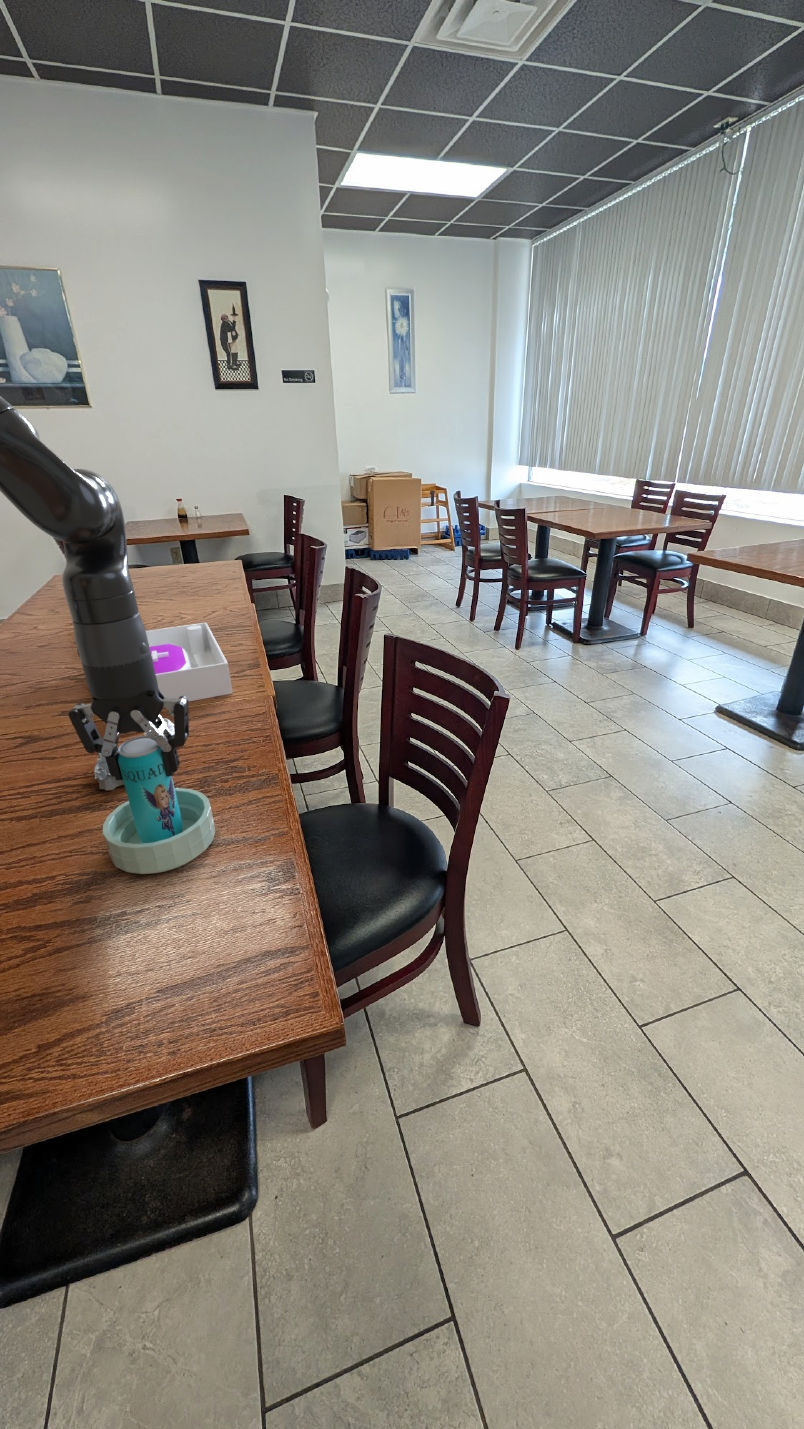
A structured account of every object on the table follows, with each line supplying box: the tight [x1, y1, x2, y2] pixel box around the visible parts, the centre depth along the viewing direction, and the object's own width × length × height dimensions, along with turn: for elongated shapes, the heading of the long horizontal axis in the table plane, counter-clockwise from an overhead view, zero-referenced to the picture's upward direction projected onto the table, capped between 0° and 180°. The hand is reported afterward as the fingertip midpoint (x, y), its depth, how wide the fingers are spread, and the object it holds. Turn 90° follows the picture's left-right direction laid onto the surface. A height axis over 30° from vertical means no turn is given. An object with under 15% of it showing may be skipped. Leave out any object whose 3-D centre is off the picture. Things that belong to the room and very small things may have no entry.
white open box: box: [146, 622, 234, 703], centre depth 138 cm, size 22×35×7 cm, turn 24°
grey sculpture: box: [94, 752, 125, 791], centre depth 98 cm, size 11×8×4 cm
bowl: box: [102, 787, 216, 875], centre depth 80 cm, size 14×14×5 cm
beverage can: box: [117, 735, 183, 843], centre depth 78 cm, size 6×6×15 cm
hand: (146, 774), depth 76 cm, fingers closed on beverage can, 5 cm apart
